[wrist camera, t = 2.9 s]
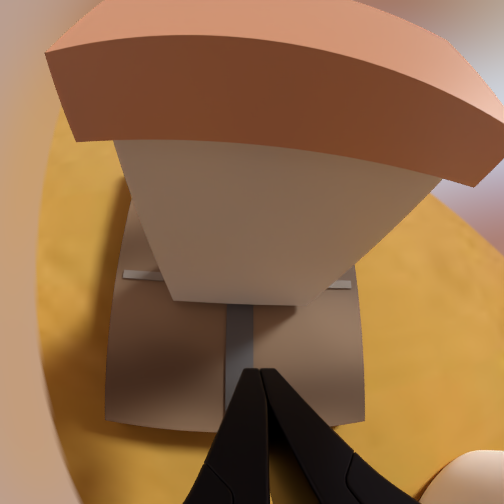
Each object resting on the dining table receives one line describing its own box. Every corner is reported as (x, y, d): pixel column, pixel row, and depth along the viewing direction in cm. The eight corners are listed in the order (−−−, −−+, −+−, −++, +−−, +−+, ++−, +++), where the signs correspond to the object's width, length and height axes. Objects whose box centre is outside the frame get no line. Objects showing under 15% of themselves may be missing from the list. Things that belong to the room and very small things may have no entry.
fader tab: (314, 314, 13) (523, 136, 3) (163, 308, 13) (44, 52, 2) (310, 250, 15) (447, 40, 4) (170, 242, 14) (129, -19, 3)
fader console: (347, 417, 14) (365, 421, 12) (117, 415, 12) (104, 420, 10) (325, 176, 20) (336, 157, 18) (150, 163, 19) (146, 142, 17)
